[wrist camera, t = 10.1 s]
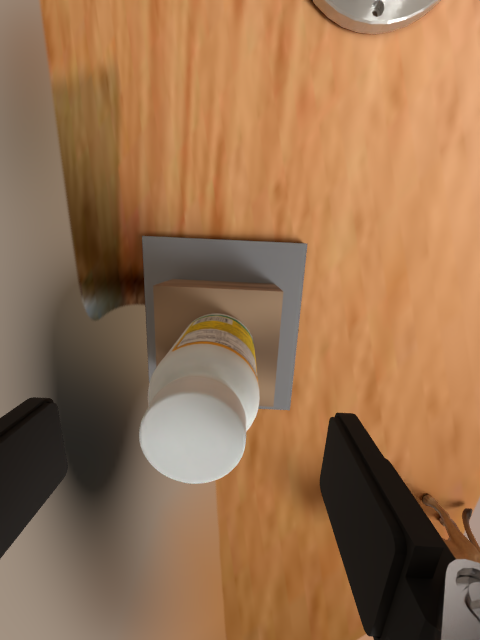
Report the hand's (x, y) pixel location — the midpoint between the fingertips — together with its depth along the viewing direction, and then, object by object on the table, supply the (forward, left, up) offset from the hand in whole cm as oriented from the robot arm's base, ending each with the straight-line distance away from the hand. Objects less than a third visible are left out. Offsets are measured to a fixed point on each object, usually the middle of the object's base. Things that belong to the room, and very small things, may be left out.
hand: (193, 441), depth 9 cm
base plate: (+1, 0, -16) cm, 16 cm away
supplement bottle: (0, 0, -10) cm, 10 cm away
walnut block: (+1, 0, -15) cm, 15 cm away
